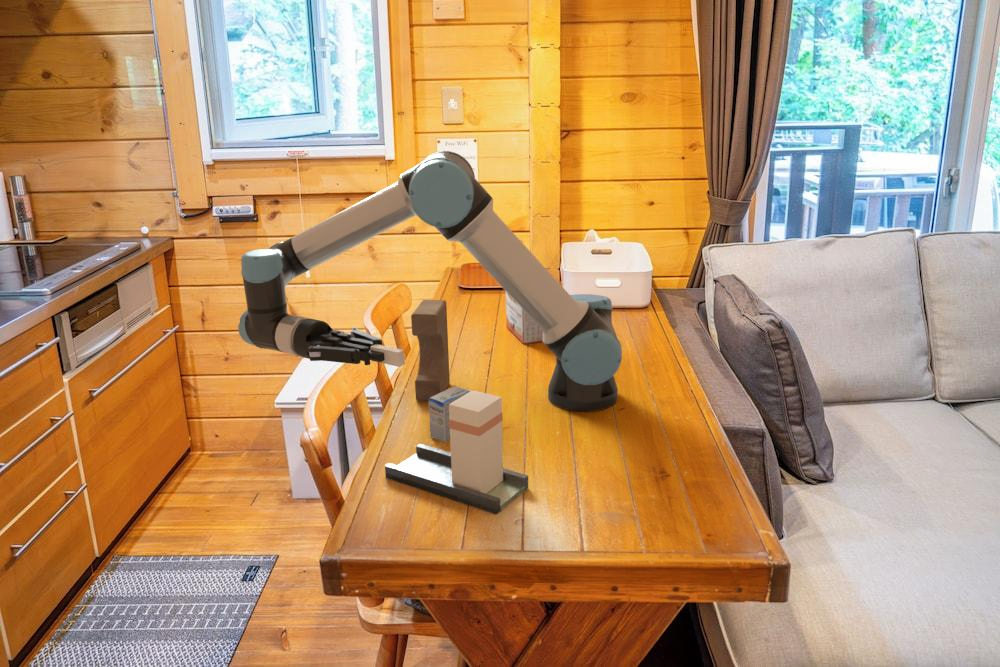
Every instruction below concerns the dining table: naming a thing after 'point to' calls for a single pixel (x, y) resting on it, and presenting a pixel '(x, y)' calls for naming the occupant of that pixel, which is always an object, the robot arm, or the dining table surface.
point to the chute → (436, 477)
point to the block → (476, 441)
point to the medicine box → (442, 412)
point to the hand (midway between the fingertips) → (401, 358)
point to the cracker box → (521, 323)
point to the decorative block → (431, 348)
